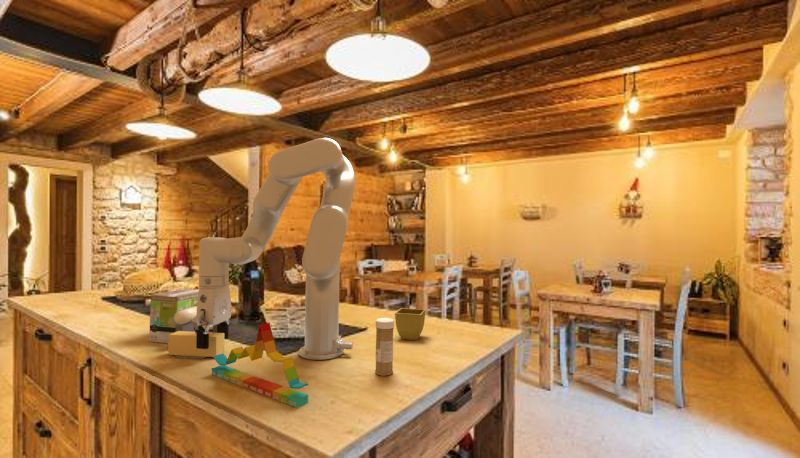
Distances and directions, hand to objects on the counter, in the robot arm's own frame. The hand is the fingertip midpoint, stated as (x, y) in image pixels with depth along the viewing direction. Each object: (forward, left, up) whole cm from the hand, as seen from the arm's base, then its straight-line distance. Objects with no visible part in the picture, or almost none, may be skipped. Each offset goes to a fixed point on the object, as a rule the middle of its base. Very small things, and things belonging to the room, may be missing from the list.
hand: (213, 343), depth 110 cm
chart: (-22, +19, -4) cm, 29 cm away
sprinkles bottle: (-49, +7, -4) cm, 50 cm away
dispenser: (+10, -9, -3) cm, 14 cm away
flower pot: (-53, -26, -4) cm, 59 cm away
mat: (+5, 0, -4) cm, 6 cm away
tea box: (+21, -16, -4) cm, 27 cm away
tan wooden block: (+5, 0, -3) cm, 6 cm away
